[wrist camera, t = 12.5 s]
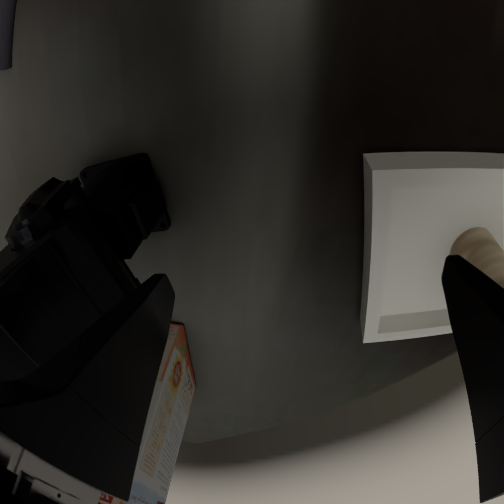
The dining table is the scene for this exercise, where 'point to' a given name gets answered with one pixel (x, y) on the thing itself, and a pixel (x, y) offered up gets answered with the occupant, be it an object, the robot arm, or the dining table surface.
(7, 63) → the dark grey t-shape
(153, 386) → the robot arm
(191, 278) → the dining table surface
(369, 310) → the tray
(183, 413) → the cracker box
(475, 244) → the handle post
